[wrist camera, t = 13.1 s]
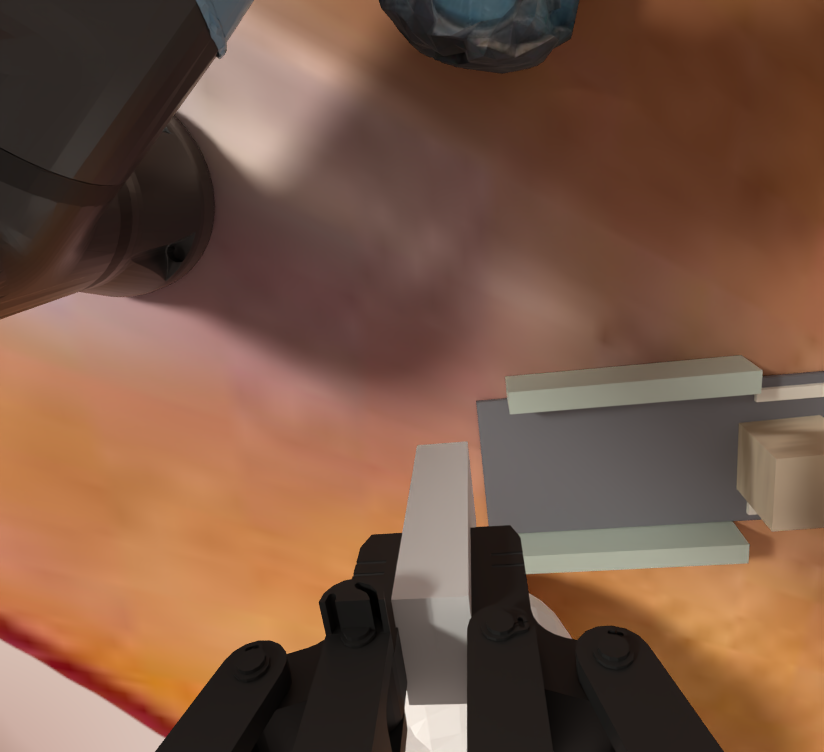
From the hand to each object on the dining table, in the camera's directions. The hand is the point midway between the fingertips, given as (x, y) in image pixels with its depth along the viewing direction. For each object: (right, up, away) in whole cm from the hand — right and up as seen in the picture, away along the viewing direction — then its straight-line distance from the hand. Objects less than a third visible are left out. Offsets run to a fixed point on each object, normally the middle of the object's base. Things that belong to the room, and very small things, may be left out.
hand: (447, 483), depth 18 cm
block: (+28, -3, +29) cm, 41 cm away
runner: (+20, -3, +31) cm, 37 cm away
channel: (+16, -4, +31) cm, 36 cm away
